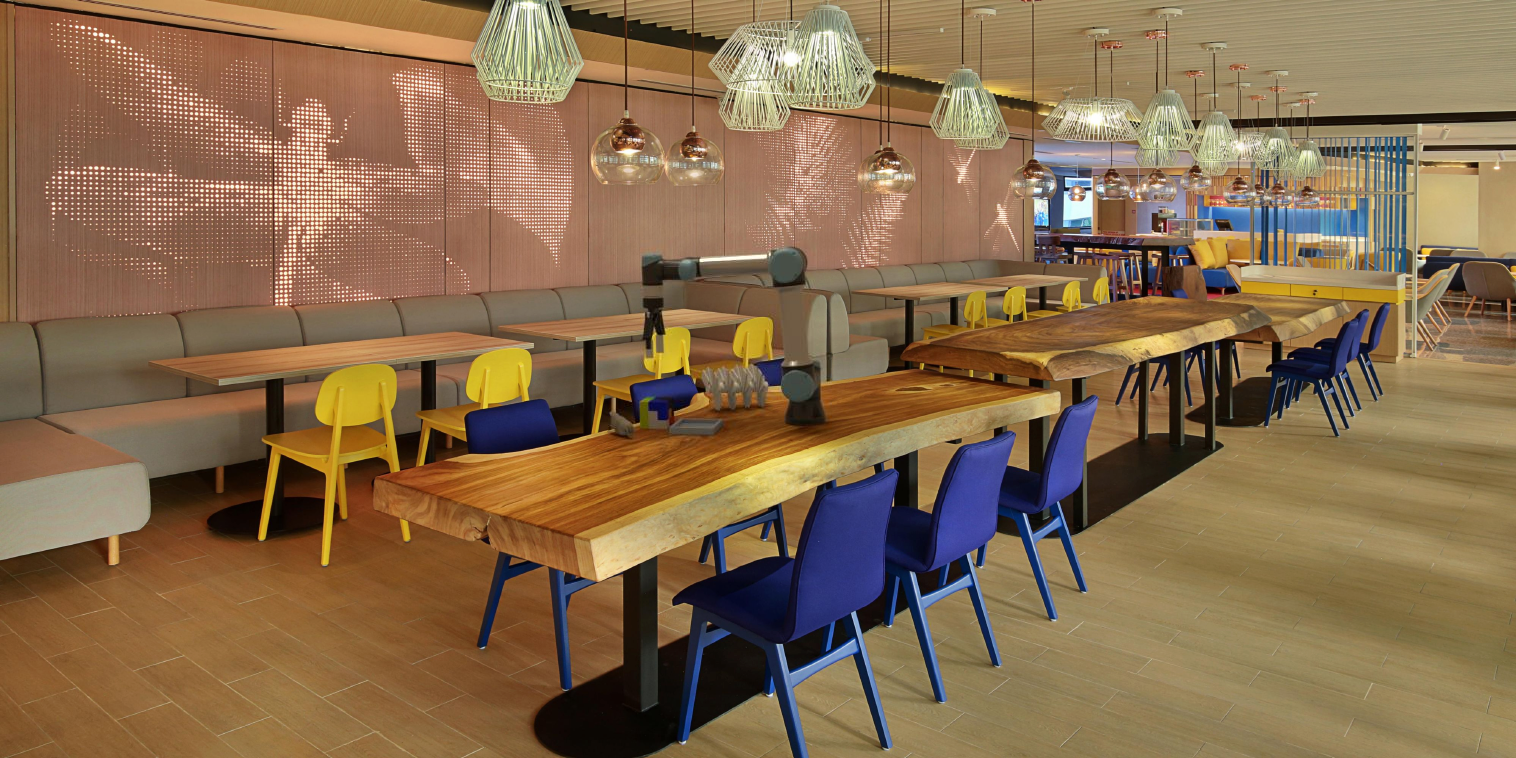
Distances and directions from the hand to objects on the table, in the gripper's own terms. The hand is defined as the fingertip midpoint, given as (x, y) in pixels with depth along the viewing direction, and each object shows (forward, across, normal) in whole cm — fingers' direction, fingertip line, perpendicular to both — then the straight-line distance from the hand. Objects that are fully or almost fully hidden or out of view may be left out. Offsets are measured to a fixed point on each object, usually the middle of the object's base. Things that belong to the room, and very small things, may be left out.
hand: (654, 355), depth 374 cm
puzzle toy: (+26, 0, 0) cm, 27 cm away
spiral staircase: (+26, -35, +23) cm, 50 cm away
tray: (+26, +5, +16) cm, 31 cm away
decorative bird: (+27, +16, -8) cm, 32 cm away
